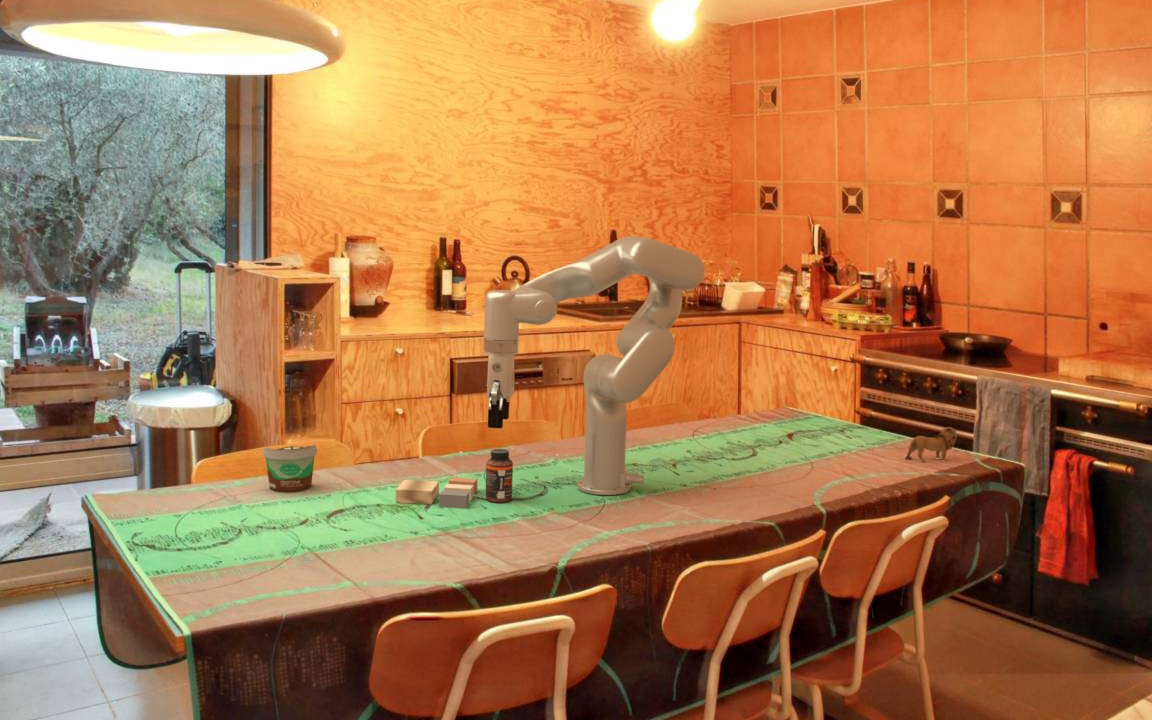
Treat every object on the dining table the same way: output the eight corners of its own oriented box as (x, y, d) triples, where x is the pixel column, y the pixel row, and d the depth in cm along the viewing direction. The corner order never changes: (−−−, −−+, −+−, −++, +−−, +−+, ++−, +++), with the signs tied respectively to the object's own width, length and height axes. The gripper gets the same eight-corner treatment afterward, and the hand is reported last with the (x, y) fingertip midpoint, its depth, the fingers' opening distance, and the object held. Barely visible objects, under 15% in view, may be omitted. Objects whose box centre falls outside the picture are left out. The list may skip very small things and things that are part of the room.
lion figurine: (948, 457, 289) (950, 425, 288) (959, 462, 284) (962, 429, 283) (899, 458, 286) (902, 426, 284) (910, 463, 281) (912, 430, 279)
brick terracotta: (477, 491, 244) (477, 479, 243) (474, 495, 241) (474, 482, 240) (452, 489, 245) (452, 477, 244) (448, 493, 242) (448, 480, 241)
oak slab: (438, 494, 240) (438, 481, 239) (431, 504, 232) (431, 491, 232) (404, 492, 240) (404, 479, 240) (395, 502, 233) (395, 489, 232)
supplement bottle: (508, 504, 234) (509, 454, 232) (482, 502, 235) (483, 452, 233) (515, 497, 239) (516, 448, 238) (489, 495, 241) (490, 446, 239)
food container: (268, 496, 235) (267, 452, 233) (262, 489, 240) (262, 446, 238) (323, 490, 240) (323, 447, 239) (317, 483, 246) (316, 441, 244)
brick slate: (469, 505, 233) (469, 492, 232) (466, 509, 230) (466, 495, 230) (442, 503, 234) (442, 490, 233) (439, 507, 231) (439, 494, 230)
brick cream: (473, 498, 238) (473, 485, 238) (470, 502, 235) (470, 488, 235) (447, 496, 239) (447, 483, 239) (444, 500, 236) (444, 487, 236)
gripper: (512, 353, 223) (510, 432, 225) (522, 342, 240) (519, 416, 242) (477, 351, 223) (475, 430, 226) (489, 340, 240) (487, 414, 243)
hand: (498, 423), depth 234 cm, fingers open, 9 cm apart
